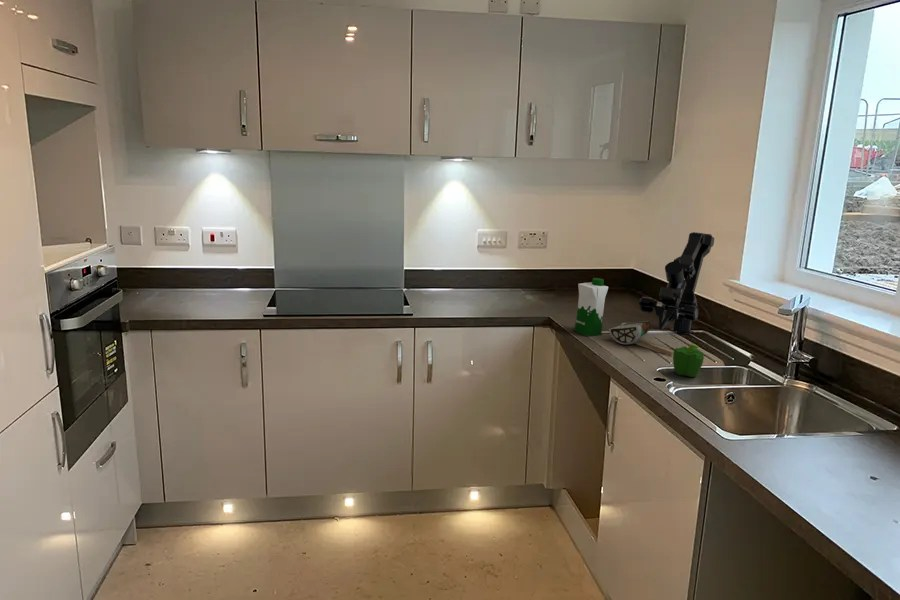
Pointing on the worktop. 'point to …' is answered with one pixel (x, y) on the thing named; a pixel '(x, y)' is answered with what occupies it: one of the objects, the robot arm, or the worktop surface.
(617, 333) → the food container
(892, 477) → the worktop surface
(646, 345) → the oak strip
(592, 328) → the milk carton
